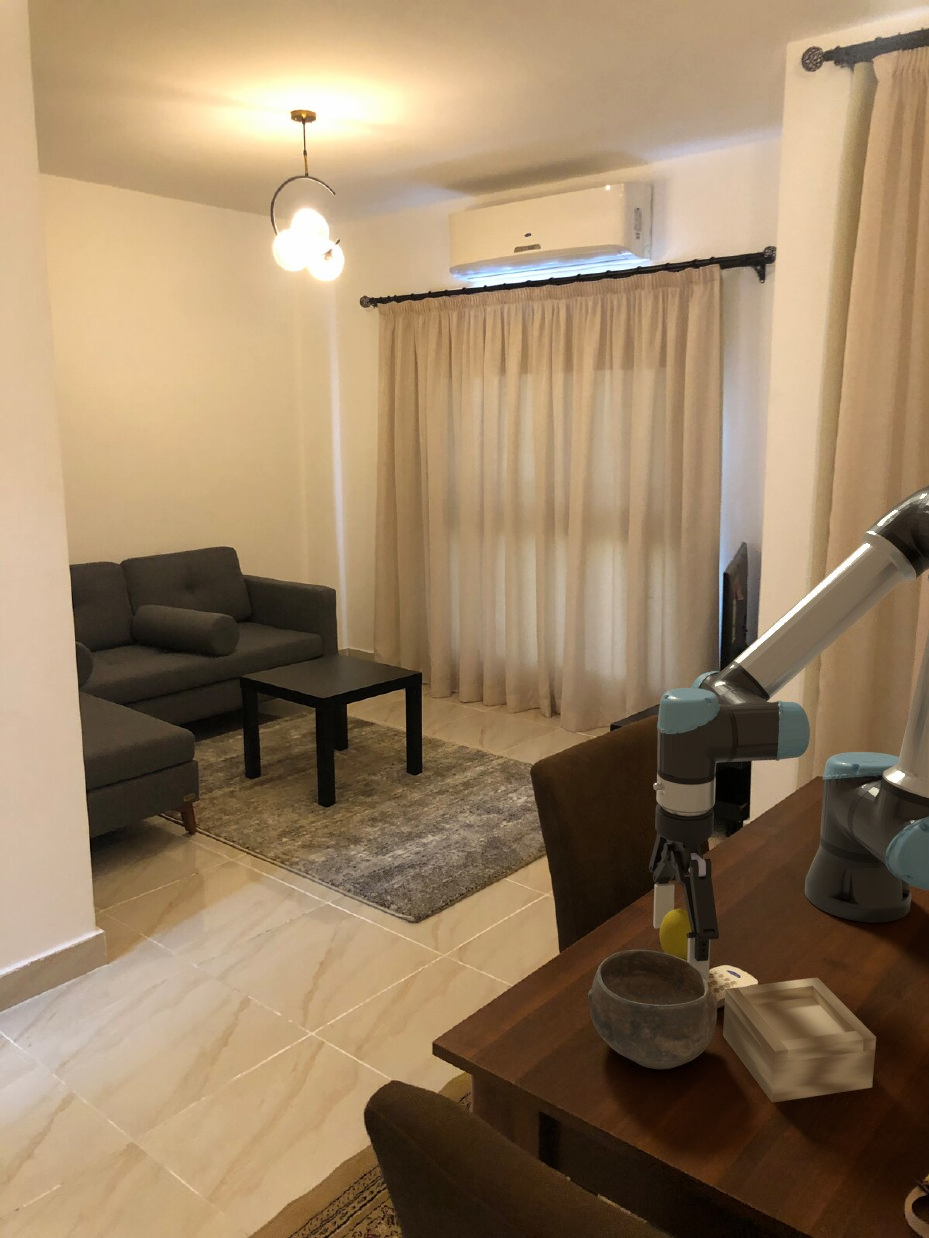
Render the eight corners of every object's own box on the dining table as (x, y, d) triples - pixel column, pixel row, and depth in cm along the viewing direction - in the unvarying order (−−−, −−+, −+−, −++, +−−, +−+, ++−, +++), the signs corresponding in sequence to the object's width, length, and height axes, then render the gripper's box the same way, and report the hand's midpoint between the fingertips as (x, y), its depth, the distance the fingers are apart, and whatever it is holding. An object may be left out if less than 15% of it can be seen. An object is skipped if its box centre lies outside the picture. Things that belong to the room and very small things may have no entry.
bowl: (695, 1108, 105) (698, 1025, 103) (564, 1065, 113) (564, 986, 111) (728, 1037, 117) (732, 961, 115) (607, 1002, 125) (608, 931, 123)
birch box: (814, 1025, 120) (817, 977, 119) (871, 1089, 108) (876, 1037, 107) (723, 1037, 118) (725, 988, 116) (772, 1104, 106) (775, 1051, 105)
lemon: (700, 975, 130) (702, 920, 129) (658, 970, 131) (660, 916, 130) (699, 953, 136) (701, 900, 134) (658, 949, 137) (660, 896, 135)
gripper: (629, 773, 141) (626, 909, 145) (691, 847, 116) (685, 1007, 121) (679, 770, 142) (675, 905, 146) (751, 842, 117) (743, 1001, 122)
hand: (679, 951), depth 133 cm, fingers open, 13 cm apart
